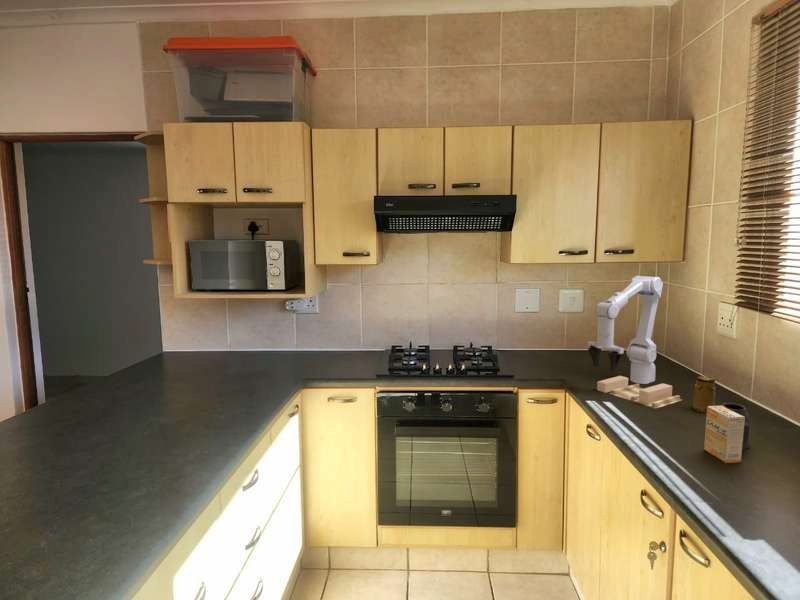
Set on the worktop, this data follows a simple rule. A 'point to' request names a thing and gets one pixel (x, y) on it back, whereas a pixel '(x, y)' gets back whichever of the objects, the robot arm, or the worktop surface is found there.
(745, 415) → the mug
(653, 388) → the clay bar
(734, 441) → the supplement box
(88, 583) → the worktop surface
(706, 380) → the condiment
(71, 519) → the worktop surface
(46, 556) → the worktop surface
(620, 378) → the clay bar
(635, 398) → the rack
